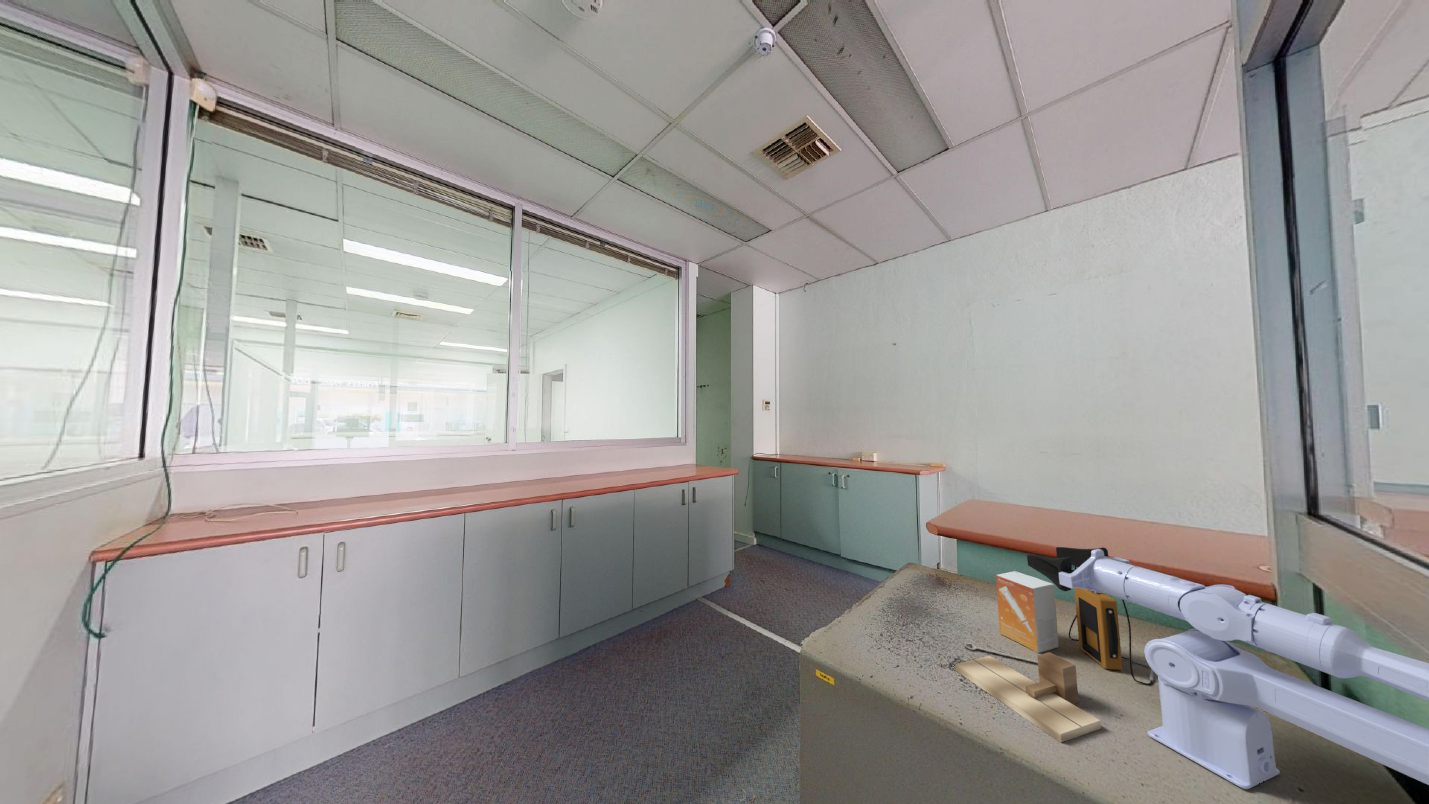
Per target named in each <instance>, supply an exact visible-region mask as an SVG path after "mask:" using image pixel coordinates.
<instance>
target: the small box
mask: <svg viewBox="0 0 1429 804" xmlns="http://www.w3.org/2000/svg"><path fill="white" fill-rule="evenodd" d="M995 576H996V577H995V579H996V595H997V609H998V610H997V611H998V612H997V613H998V624H999V625H998V627H999V634H1000V635H1002V636H1004V637H1006V638H1008V639H1010V640H1012V641H1014V642H1016V643H1018V644H1020V645H1022V646H1024V647H1026V648H1028V649H1030V650H1032V651H1033V652H1035V653H1037V654H1039V653H1040V654H1042V653H1044V652H1047V651H1050V650H1054V649H1057V648H1059V634H1058V633H1059V632H1058V621H1057V620H1058V619H1057V606H1056V592H1055V584H1054V583H1053V582H1052V583H1051V582H1049V581H1046V580H1043V579H1040V578H1038V577H1034V576H1031V575H1028V574H1025V573H1022V572H1019V571H1016V570H1014V571H1009V572H1002V573H999V574H996V575H995Z"/></svg>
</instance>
